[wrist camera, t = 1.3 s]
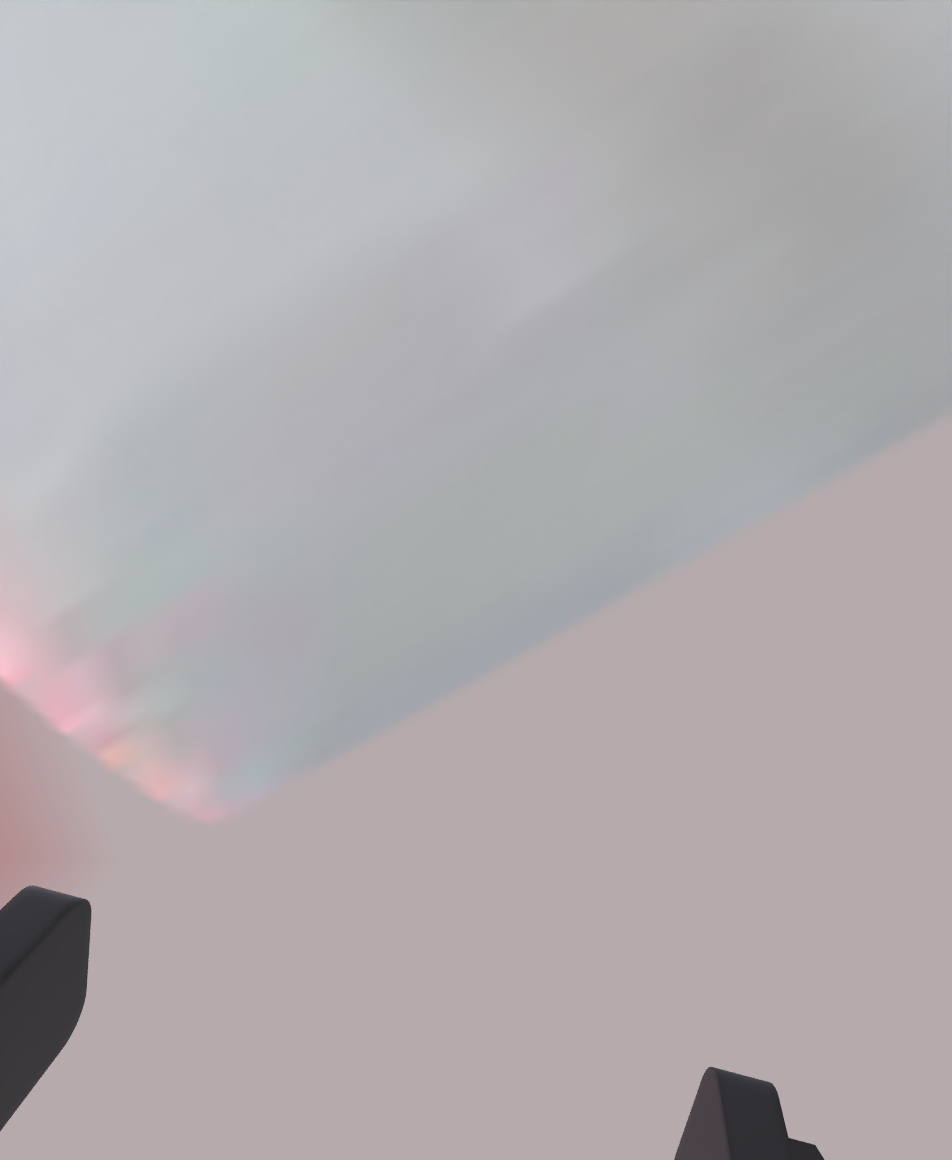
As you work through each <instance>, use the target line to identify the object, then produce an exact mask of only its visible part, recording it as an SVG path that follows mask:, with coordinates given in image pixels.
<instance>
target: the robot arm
mask: <svg viewBox="0 0 952 1160" xmlns="http://www.w3.org/2000/svg"><path fill="white" fill-rule="evenodd" d="M90 926H91V905H90V903H89V902H88V900H86V899H82V898H78V897H74V896H71V895H67V894H63V893H60V892H56V891H52V890H48V889H44V888H41V887H37V886H28V887H26V888H24V889H23V890H21V891H20V892H19V893H18V894H17V895H16V896H15V897H13V898H12V900H10V901H9V903H7V904H6V905H5V906H4V907H3V908H2V909H1V910H0V1131H1V1130H2V1128H3V1127H4V1125H5V1124H6V1123H7V1122H8V1120H9V1119H10V1118H11V1116H12V1115H13V1114H14V1112H15V1111H16V1110H17V1108H18V1107H19V1106H20V1104H21V1103H22V1102H23V1100H24V1099H25V1098H26V1096H27V1095H28V1094H29V1092H30V1091H31V1090H32V1088H33V1087H34V1086H35V1084H36V1083H37V1082H38V1080H39V1079H40V1078H41V1077H42V1075H43V1074H44V1072H45V1071H46V1070H47V1069H48V1067H49V1066H50V1065H51V1063H52V1062H53V1061H54V1059H55V1058H56V1057H57V1055H58V1054H59V1053H60V1051H61V1050H62V1049H63V1047H64V1046H65V1044H66V1043H67V1041H68V1040H69V1038H70V1036H71V1034H72V1032H73V1030H74V1029H75V1026H76V1024H77V1022H78V1019H79V1017H80V1014H81V1012H82V1009H83V1005H84V1002H85V997H86V989H87V974H88V958H89V941H90ZM674 1160H824V1158H823V1157H822V1155H821V1154H820V1152H819V1151H818V1149H817V1147H816V1146H815V1145H813V1144H809V1143H805V1142H802V1141H798V1140H794V1139H790V1138H788V1134H787V1130H786V1126H785V1122H784V1118H783V1113H782V1109H781V1105H780V1101H779V1097H778V1094H777V1091H776V1089H775V1087H774V1086H773V1084H772V1083H770V1082H767V1081H763V1080H759V1079H755V1078H751V1077H748V1076H743V1075H740V1074H736V1073H732V1072H728V1071H725V1070H721V1069H717V1068H713V1067H709V1068H708V1069H707V1070H706V1071H705V1073H704V1075H703V1078H702V1080H701V1083H700V1086H699V1089H698V1092H697V1095H696V1098H695V1101H694V1104H693V1106H692V1109H691V1112H690V1115H689V1118H688V1121H687V1123H686V1126H685V1129H684V1132H683V1135H682V1138H681V1141H680V1144H679V1147H678V1149H677V1153H676V1156H675V1159H674Z"/></svg>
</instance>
